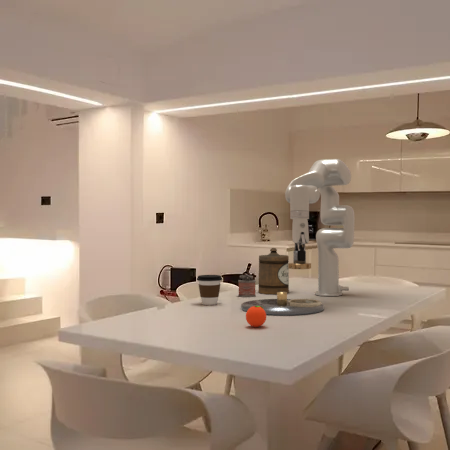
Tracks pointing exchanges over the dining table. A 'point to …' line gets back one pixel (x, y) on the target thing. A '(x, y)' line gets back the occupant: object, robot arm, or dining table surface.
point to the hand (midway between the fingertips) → (299, 259)
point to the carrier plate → (285, 306)
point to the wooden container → (273, 273)
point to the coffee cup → (209, 288)
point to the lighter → (246, 286)
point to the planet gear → (298, 263)
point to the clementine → (256, 316)
